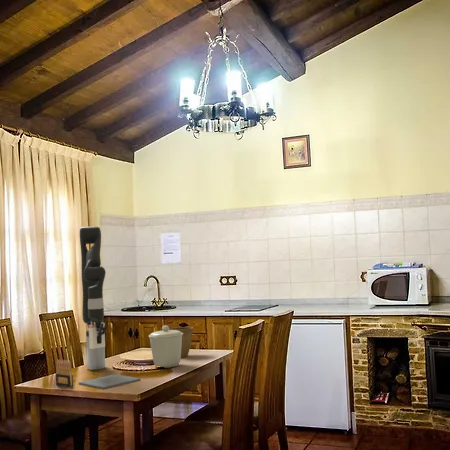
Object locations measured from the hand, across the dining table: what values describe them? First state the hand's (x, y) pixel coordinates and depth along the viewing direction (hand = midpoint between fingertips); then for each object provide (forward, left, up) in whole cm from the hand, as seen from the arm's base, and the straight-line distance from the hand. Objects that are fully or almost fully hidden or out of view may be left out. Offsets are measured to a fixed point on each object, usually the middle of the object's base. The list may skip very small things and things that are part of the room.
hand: (97, 343), depth 268 cm
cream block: (0, 0, -2) cm, 2 cm away
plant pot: (-6, +59, -17) cm, 62 cm away
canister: (+10, +35, -17) cm, 40 cm away
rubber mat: (+15, -4, -16) cm, 23 cm away
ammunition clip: (+2, -19, -17) cm, 26 cm away
